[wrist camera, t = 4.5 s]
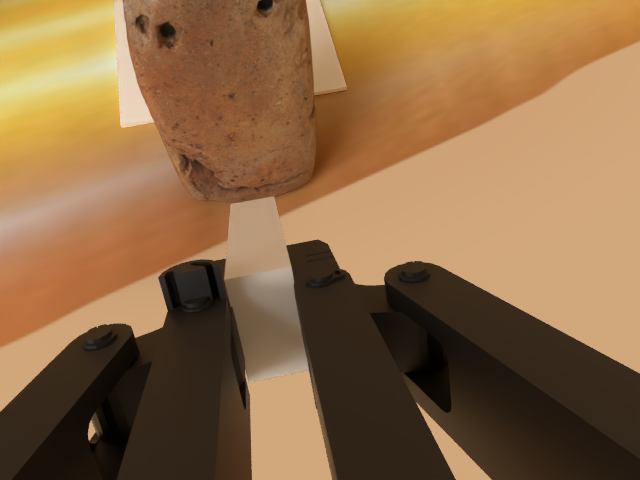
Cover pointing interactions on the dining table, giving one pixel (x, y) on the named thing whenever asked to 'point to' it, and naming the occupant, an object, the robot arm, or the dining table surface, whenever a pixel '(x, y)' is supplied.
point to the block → (228, 92)
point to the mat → (323, 62)
